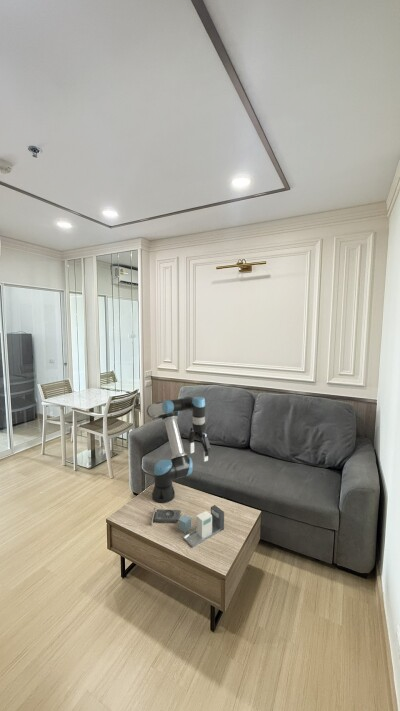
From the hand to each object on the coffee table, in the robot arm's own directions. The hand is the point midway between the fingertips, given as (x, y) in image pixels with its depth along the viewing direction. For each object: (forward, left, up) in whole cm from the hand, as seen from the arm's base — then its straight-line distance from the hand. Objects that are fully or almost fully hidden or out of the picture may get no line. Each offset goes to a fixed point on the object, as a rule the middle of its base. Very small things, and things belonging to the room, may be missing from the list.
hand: (198, 456), depth 175 cm
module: (+18, -10, -34) cm, 40 cm away
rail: (+18, -10, -35) cm, 40 cm away
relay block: (+8, -16, -35) cm, 39 cm away
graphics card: (-5, -20, -35) cm, 41 cm away
